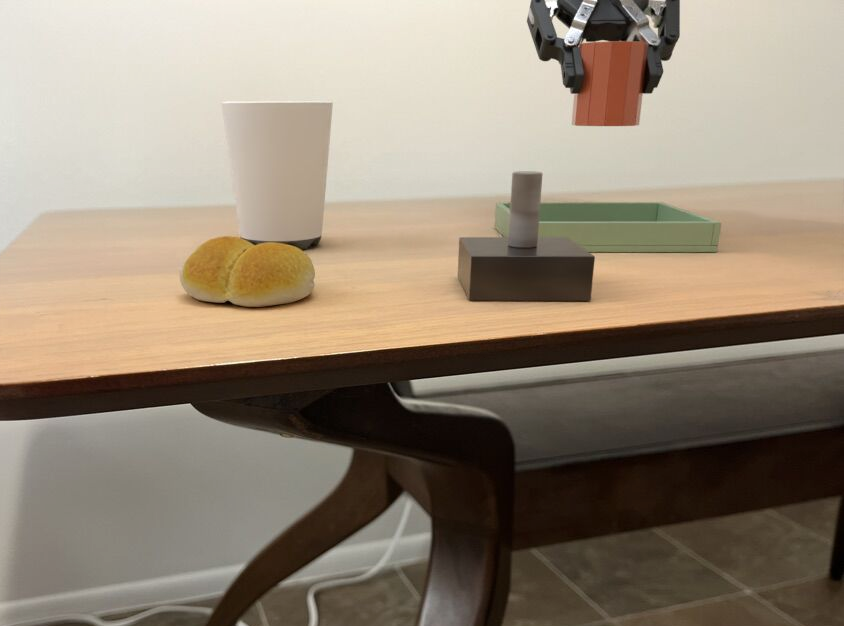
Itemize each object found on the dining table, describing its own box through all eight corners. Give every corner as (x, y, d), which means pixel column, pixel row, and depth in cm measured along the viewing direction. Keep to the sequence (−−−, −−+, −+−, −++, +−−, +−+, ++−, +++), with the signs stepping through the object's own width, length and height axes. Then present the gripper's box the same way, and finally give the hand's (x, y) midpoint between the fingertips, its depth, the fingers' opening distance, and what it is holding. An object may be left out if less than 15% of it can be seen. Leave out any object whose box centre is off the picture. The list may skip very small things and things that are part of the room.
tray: (659, 227, 85) (662, 202, 84) (717, 252, 71) (721, 222, 70) (494, 227, 86) (495, 202, 85) (518, 252, 72) (520, 222, 71)
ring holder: (564, 277, 61) (573, 167, 59) (590, 301, 54) (603, 177, 51) (457, 276, 62) (462, 168, 59) (469, 300, 54) (475, 177, 51)
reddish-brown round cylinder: (627, 124, 78) (636, 45, 75) (646, 126, 72) (656, 40, 70) (566, 124, 78) (572, 45, 76) (580, 126, 72) (588, 41, 70)
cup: (270, 258, 69) (265, 100, 65) (207, 244, 76) (199, 101, 72) (355, 245, 76) (356, 100, 71) (290, 233, 83) (287, 101, 78)
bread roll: (287, 313, 51) (285, 250, 50) (164, 302, 54) (160, 242, 53) (335, 287, 58) (334, 231, 57) (225, 278, 61) (222, 225, 60)
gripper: (526, -76, 77) (541, 53, 69) (681, -78, 76) (713, 52, 69) (513, -7, 83) (525, 117, 76) (655, -8, 83) (681, 117, 75)
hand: (614, 86), depth 72 cm, fingers closed on reddish-brown round cylinder, 6 cm apart
